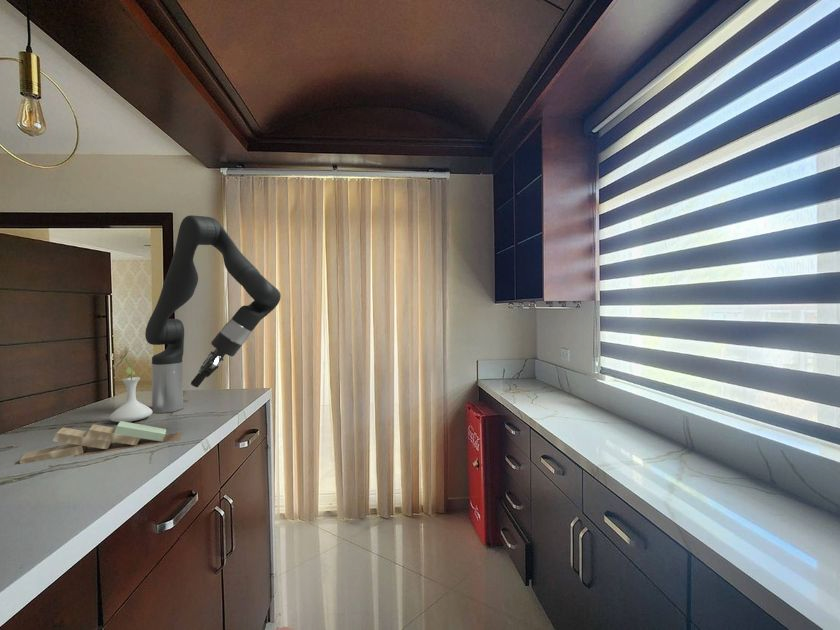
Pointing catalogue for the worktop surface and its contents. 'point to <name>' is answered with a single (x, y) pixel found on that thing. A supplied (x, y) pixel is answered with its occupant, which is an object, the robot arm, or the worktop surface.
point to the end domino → (53, 453)
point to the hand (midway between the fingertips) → (193, 385)
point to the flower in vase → (129, 396)
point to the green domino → (140, 431)
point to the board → (124, 446)
